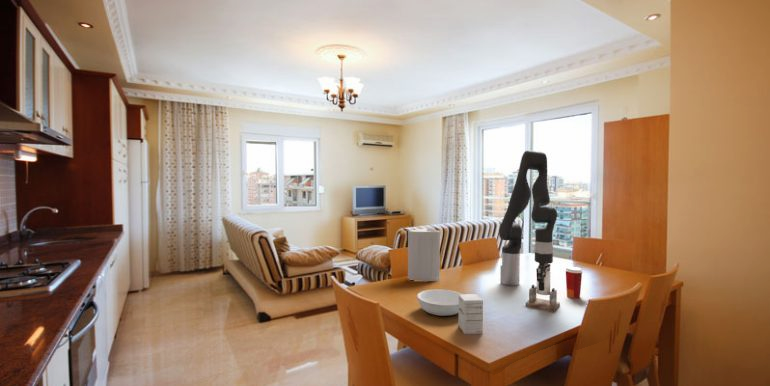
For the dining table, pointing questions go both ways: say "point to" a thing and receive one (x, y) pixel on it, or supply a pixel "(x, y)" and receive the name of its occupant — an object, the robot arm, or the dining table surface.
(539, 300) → the holder
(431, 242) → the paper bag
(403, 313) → the dining table surface
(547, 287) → the roll
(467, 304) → the supplement box
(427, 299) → the serving bowl
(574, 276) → the paper cup
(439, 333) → the dining table surface
